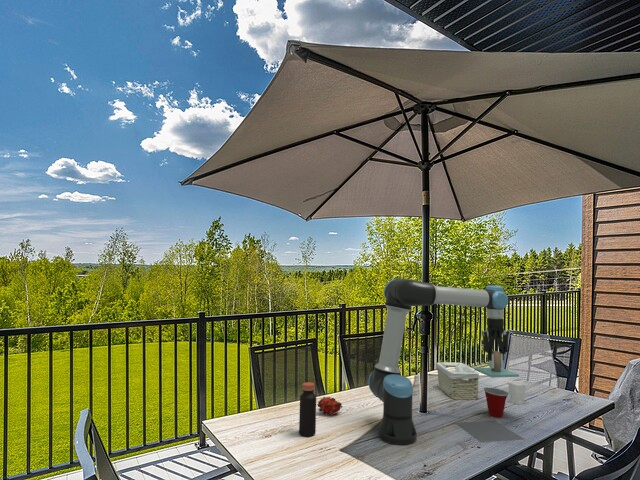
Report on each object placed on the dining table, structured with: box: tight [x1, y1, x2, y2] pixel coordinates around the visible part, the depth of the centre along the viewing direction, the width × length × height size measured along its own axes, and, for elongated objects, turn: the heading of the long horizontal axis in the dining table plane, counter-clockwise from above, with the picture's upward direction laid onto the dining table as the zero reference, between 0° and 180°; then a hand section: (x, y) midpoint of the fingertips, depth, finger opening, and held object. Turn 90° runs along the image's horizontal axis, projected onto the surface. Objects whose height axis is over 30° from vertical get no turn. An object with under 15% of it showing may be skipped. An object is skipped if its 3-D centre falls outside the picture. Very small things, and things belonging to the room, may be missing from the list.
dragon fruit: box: [316, 396, 343, 416], centre depth 184 cm, size 8×8×12 cm
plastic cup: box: [483, 387, 509, 419], centre depth 186 cm, size 11×11×12 cm
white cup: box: [508, 380, 526, 405], centre depth 207 cm, size 8×8×10 cm
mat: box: [454, 420, 525, 443], centre depth 168 cm, size 20×20×1 cm
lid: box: [474, 350, 520, 379], centre depth 188 cm, size 14×14×10 cm
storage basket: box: [436, 361, 480, 400], centre depth 221 cm, size 24×16×15 cm
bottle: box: [298, 381, 317, 438], centre depth 162 cm, size 7×7×20 cm
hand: (495, 367), depth 188 cm, fingers closed on lid, 4 cm apart
